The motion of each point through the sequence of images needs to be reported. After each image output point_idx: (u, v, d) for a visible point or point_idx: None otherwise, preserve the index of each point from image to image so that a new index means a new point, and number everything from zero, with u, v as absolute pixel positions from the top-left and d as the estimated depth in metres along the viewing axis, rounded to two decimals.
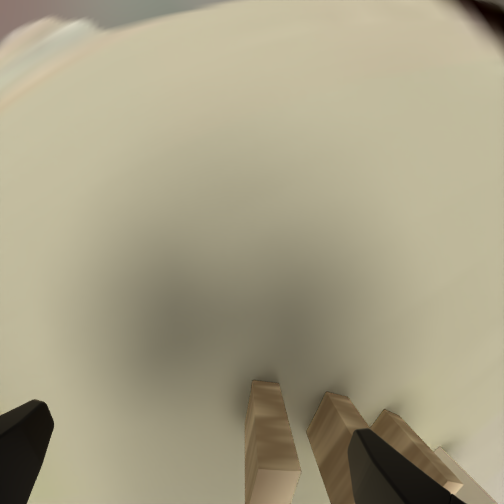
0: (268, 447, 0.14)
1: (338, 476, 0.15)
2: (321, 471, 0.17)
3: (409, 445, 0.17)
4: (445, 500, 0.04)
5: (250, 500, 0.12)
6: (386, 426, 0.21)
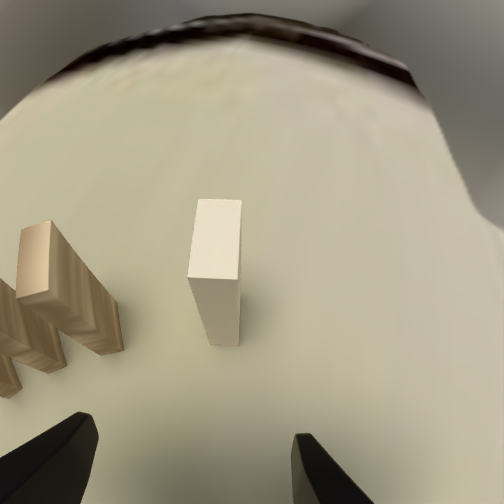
0: None
1: None
2: None
3: None
4: None
5: None
6: None
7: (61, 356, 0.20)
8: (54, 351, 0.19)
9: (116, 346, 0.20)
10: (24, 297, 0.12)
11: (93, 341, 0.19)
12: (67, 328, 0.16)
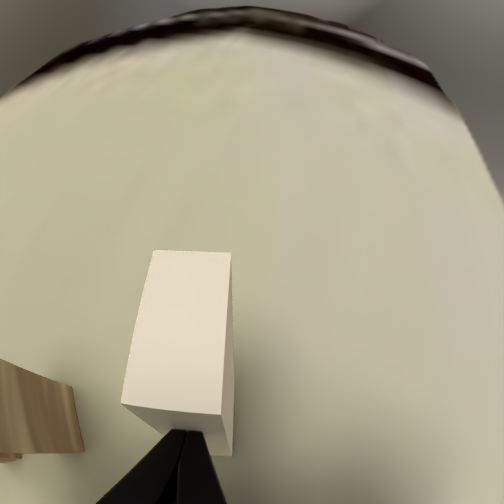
0: None
1: None
2: None
3: None
4: None
5: None
6: None
7: None
8: None
9: None
10: None
11: None
12: None
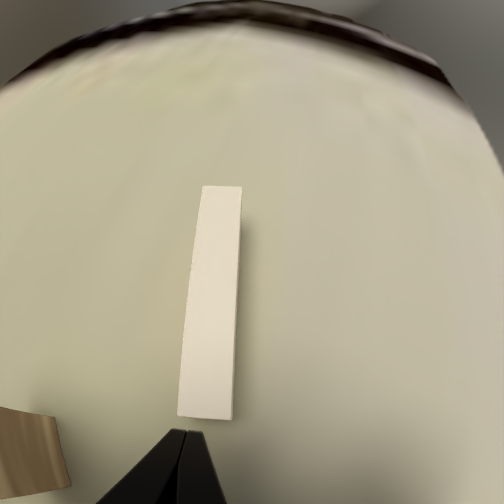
0: None
1: None
2: None
3: None
4: None
5: None
6: None
7: None
8: None
9: (58, 488, 0.10)
10: None
11: None
12: None
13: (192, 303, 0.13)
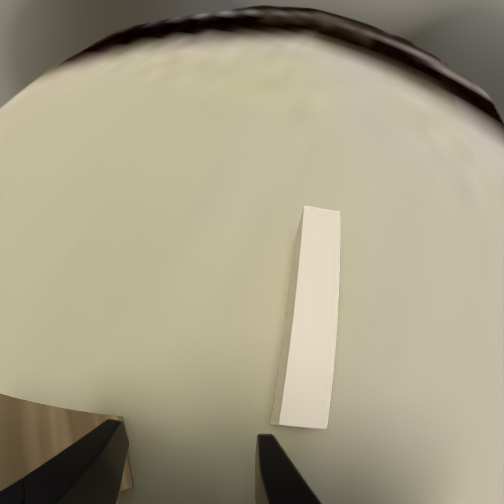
0: None
1: None
2: None
3: None
4: None
5: None
6: None
7: None
8: None
9: (121, 489, 0.11)
10: None
11: None
12: None
13: (298, 320, 0.14)
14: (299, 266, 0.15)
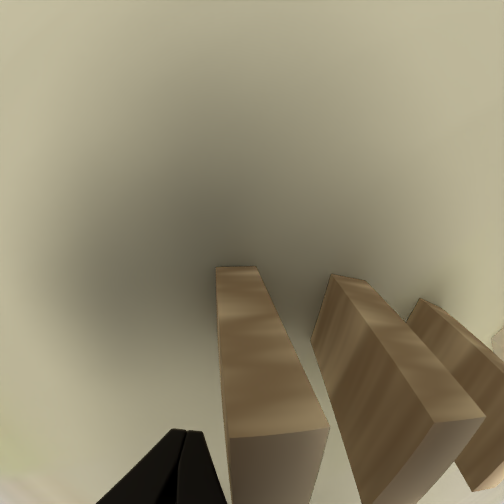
0: (248, 378, 0.07)
1: (360, 419, 0.09)
2: (334, 406, 0.12)
3: (469, 351, 0.11)
4: None
5: None
6: (427, 323, 0.15)
7: None
8: None
9: None
10: (476, 488, 0.07)
11: None
12: None
13: None
14: None
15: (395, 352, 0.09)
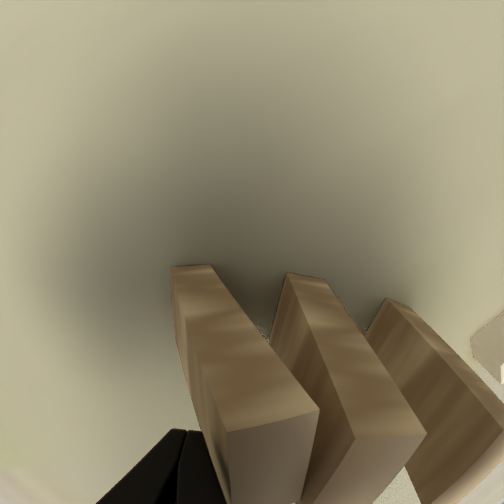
0: (229, 372, 0.07)
1: None
2: None
3: (429, 356, 0.11)
4: None
5: (230, 489, 0.06)
6: (390, 325, 0.15)
7: None
8: None
9: None
10: None
11: None
12: None
13: None
14: None
15: (331, 358, 0.09)
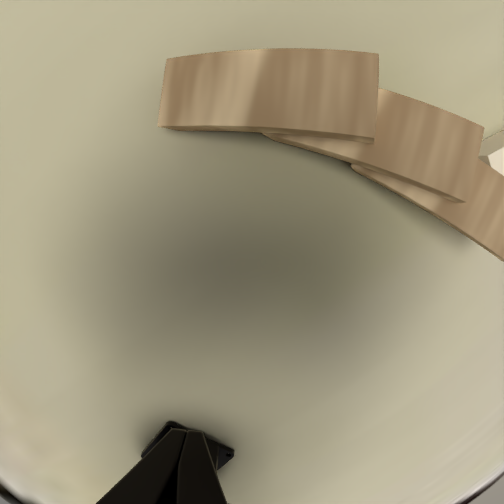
0: None
1: (420, 150, 0.13)
2: (370, 160, 0.14)
3: None
4: None
5: (374, 102, 0.12)
6: None
7: None
8: None
9: (371, 179, 0.18)
10: None
11: (403, 195, 0.16)
12: (448, 222, 0.15)
13: None
14: None
15: (423, 104, 0.13)
